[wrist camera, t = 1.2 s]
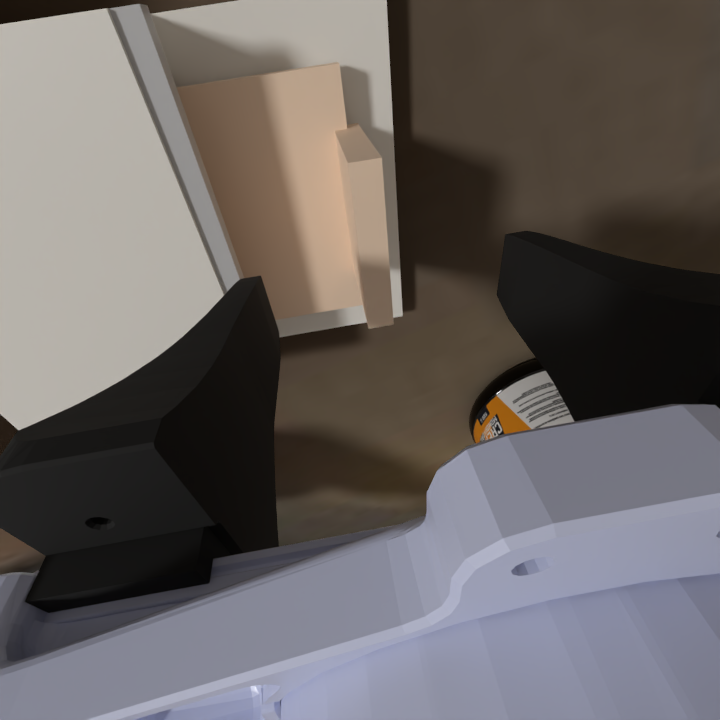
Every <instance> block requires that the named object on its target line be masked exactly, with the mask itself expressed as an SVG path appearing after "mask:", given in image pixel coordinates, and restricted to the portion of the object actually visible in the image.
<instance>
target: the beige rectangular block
mask: <svg viewBox="0 0 720 720" xmlns="http://www.w3.org/2000/svg"><path fill="white" fill-rule="evenodd" d="M176 88H177V90H178V93H179V96H180V99H181V102H182V104H183V107H184V110H185V113H186V116H187V119H188V121H189V124H190V127H191V130H192V133H193V135H194V138H195V141H196V144H197V147H198V149H199V152H200V155H201V158H202V161H203V164H204V166H205V169H206V172H207V175H208V178H209V180H210V183H211V186H212V189H213V192H214V194H215V197H216V200H217V203H218V206H219V208H220V211H221V214H222V217H223V220H224V223H225V225H226V228H227V231H228V234H229V237H230V239H231V242H232V245H233V248H234V251H235V253H236V256H237V259H238V262H239V265H240V268H241V270H242V273H243V276H244V278H249V277H255V276H261V277H262V280H263V283H264V286H265V289H266V293H267V296H268V299H269V302H270V305H271V308H272V311H273V314H274V317H275V320H278V319H284V318H290V317H296V316H302V315H307V314H313V313H319V312H325V311H331V310H336V309H342V308H348V307H354V306H360V305H363V308H364V312H365V316H366V320H367V324H368V328H369V329H371V328H376V327H382V326H388V325H394V321H393V307H392V293H391V279H390V264H389V250H388V236H387V222H386V208H385V194H384V180H383V166H382V157H381V156H380V154H379V153H378V151H377V150H376V148H375V147H374V146H373V144H372V143H371V141H370V140H369V138H368V137H367V136H366V134H365V133H364V131H363V130H362V129H361V127H360V126H359V124H358V123H354V124H348V125H347V122H346V113H345V105H344V97H343V88H342V80H341V72H340V63H338V62H334V63H328V64H321V65H315V66H309V67H302V68H296V69H290V70H283V71H277V72H270V73H264V74H258V75H251V76H245V77H239V78H232V79H226V80H220V81H213V82H207V83H200V84H194V85H188V86H181V87H176Z"/></svg>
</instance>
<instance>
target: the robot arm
mask: <svg viewBox="0 0 720 720" xmlns="http://www.w3.org/2000/svg"><path fill="white" fill-rule="evenodd" d="M497 296H498V298H499V300H500V303H501V305H502V307H503V309H504V311H505V313H506V315H507V317H508V319H509V320H510V322H511V323H512V325H513V326H514V328H515V329H516V330H517V332H518V333H519V335H520V336H521V338H522V339H523V340H524V342H525V343H526V344H527V346H528V347H529V349H530V350H531V351H532V353H533V354H534V355H535V357H536V358H537V360H538V361H539V362H540V364H541V365H542V366H543V368H544V369H545V371H546V372H547V374H548V375H549V377H550V378H551V380H552V381H553V383H554V385H555V386H556V388H557V390H558V392H559V394H560V395H561V397H562V399H563V401H564V403H565V405H566V406H567V408H568V410H569V412H570V414H571V416H572V418H573V420H574V422H569V423H564V424H558V425H553V426H547V427H542V428H536V429H530V430H525V431H519V432H514V433H508V434H503V435H500V436H497V437H494V438H491V439H488V440H485V441H482V442H479V443H476V444H473V445H470V446H467V447H466V448H464V449H463V450H462V451H460V452H459V453H457V454H456V455H455V456H453V457H452V458H451V459H449V460H448V461H447V462H445V463H444V464H442V465H441V466H440V468H439V469H438V470H437V472H436V474H435V476H434V478H433V480H432V483H431V485H430V487H429V489H428V491H427V513H426V515H424V516H421V517H418V518H416V519H413V520H410V521H407V522H405V523H402V524H399V525H394V526H389V527H384V528H378V529H373V530H367V531H362V532H356V533H351V534H345V535H340V536H334V537H329V538H324V539H318V540H313V541H307V542H302V543H296V544H291V545H285V546H280V547H279V544H278V530H277V512H276V493H275V465H274V420H275V409H276V400H277V390H278V380H279V370H280V338H279V330H278V327H277V324H276V321H275V317H274V314H273V311H272V308H271V305H270V302H269V299H268V296H267V293H266V289H265V286H264V283H263V280H262V277H261V276H255V277H249V278H243V279H239V280H238V281H237V282H236V283H235V284H234V285H233V286H232V287H231V288H230V289H229V290H228V291H227V293H226V294H225V295H224V296H223V297H222V298H221V299H220V300H219V301H218V302H217V303H216V304H215V306H214V307H213V308H212V309H211V310H210V311H209V312H208V313H207V314H206V315H205V316H204V317H203V318H202V319H201V320H200V321H199V322H198V323H197V324H196V325H195V326H194V327H192V328H191V329H190V330H189V331H188V332H187V333H186V334H185V335H184V336H183V337H182V338H180V339H179V340H178V341H177V342H176V343H174V344H173V345H172V346H171V347H169V348H168V349H167V350H165V351H164V352H163V353H162V354H160V355H159V356H158V357H156V358H155V359H153V360H152V361H150V362H149V363H147V364H146V365H144V366H143V367H141V368H140V369H138V370H137V371H135V372H133V373H132V374H130V375H129V376H127V377H126V378H124V379H123V380H121V381H119V382H117V383H116V384H114V385H112V386H110V387H109V388H107V389H105V390H103V391H101V392H100V393H98V394H96V395H94V396H92V397H90V398H88V399H86V400H84V401H82V402H80V403H78V404H76V405H74V406H72V407H70V408H68V409H66V410H64V411H61V412H59V413H57V414H55V415H52V416H50V417H48V418H46V419H44V420H41V421H39V422H37V423H35V424H33V425H30V426H28V427H26V428H23V429H21V430H18V431H17V432H16V434H15V435H14V437H13V438H12V440H11V441H10V443H9V444H8V446H7V447H6V449H5V450H4V451H3V453H2V454H1V456H0V528H1V529H3V530H5V531H6V532H8V533H10V534H11V535H13V536H14V537H16V538H18V539H19V540H21V541H23V542H24V543H26V544H27V545H29V546H31V547H32V548H34V549H36V550H37V551H39V552H41V553H42V554H44V555H45V556H46V557H45V559H44V561H43V564H42V566H41V568H40V570H39V571H36V572H34V573H25V572H18V573H8V574H3V575H0V720H720V274H713V273H704V272H696V271H689V270H682V269H676V268H671V267H665V266H660V265H654V264H649V263H644V262H640V261H635V260H631V259H627V258H623V257H620V256H616V255H612V254H608V253H604V252H601V251H597V250H594V249H591V248H587V247H584V246H581V245H578V244H574V243H571V242H568V241H565V240H561V239H558V238H555V237H551V236H548V235H544V234H540V233H536V232H530V231H522V232H516V233H511V234H505V241H504V248H503V255H502V262H501V269H500V276H499V283H498V290H497Z"/></svg>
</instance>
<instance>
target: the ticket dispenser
mask: <svg viewBox="0 0 720 720" xmlns="http://www.w3.org/2000/svg"><path fill="white" fill-rule="evenodd" d="M334 62H338V63H340V72H341V80H342V88H343V97H344V105H345V113H346V122H347V125H348V124H354V123H358V124H359V126H360V127H361V129H362V130H363V131H364V133H365V134H366V136H367V137H368V138H369V140H370V141H371V143H372V144H373V146H374V147H375V148H376V150H377V151H378V153H379V154H380V156H381V157H382V166H383V180H384V194H385V208H386V222H387V236H388V250H389V264H390V279H391V293H392V307H393V318H394V317H400V316H403V312H402V293H401V273H400V253H399V233H398V214H397V194H396V174H395V155H394V135H393V115H392V96H391V76H390V56H389V36H388V17H387V0H238V1H232V2H225V3H219V4H212V5H205V6H199V7H192V8H186V9H179V10H173V11H166V12H160V13H153V14H150V12H149V9H148V6H147V5H143V4H135V5H128V6H122V7H115V8H105V9H98V10H92V11H85V12H78V13H72V14H65V15H59V16H52V17H45V18H39V19H32V20H26V21H19V22H12V23H6V24H0V414H1V415H2V416H3V417H4V418H5V419H6V420H7V421H9V422H10V423H11V424H12V425H13V426H14V427H15V428H17V429H18V430H21V429H23V428H26V427H28V426H30V425H33V424H35V423H37V422H39V421H41V420H44V419H46V418H48V417H50V416H52V415H55V414H57V413H59V412H61V411H64V410H66V409H68V408H70V407H72V406H74V405H76V404H78V403H80V402H82V401H84V400H86V399H88V398H90V397H92V396H94V395H96V394H98V393H100V392H101V391H103V390H105V389H107V388H109V387H110V386H112V385H114V384H116V383H117V382H119V381H121V380H123V379H124V378H126V377H127V376H129V375H130V374H132V373H133V372H135V371H137V370H138V369H140V368H141V367H143V366H144V365H146V364H147V363H149V362H150V361H152V360H153V359H155V358H156V357H158V356H159V355H160V354H162V353H163V352H164V351H165V350H167V349H168V348H169V347H171V346H172V345H173V344H174V343H176V342H177V341H178V340H179V339H180V338H182V337H183V336H184V335H185V334H186V333H187V332H188V331H189V330H190V329H191V328H192V327H194V326H195V325H196V324H197V323H198V322H199V321H200V320H201V319H202V318H203V317H204V316H205V315H206V314H207V313H208V312H209V311H210V310H211V309H212V308H213V307H214V306H215V304H216V303H217V302H218V301H219V300H220V299H221V298H222V297H223V296H224V295H225V294H226V293H227V291H228V290H229V289H230V288H231V287H232V286H233V285H234V284H235V283H236V282H237V281H238V280H239V279H243V278H244V276H243V273H242V270H241V268H240V265H239V262H238V259H237V256H236V253H235V251H234V248H233V245H232V242H231V239H230V237H229V234H228V231H227V228H226V225H225V223H224V220H223V217H222V214H221V211H220V208H219V206H218V203H217V200H216V197H215V194H214V192H213V189H212V186H211V183H210V180H209V178H208V175H207V172H206V169H205V166H204V164H203V161H202V158H201V155H200V152H199V149H198V147H197V144H196V141H195V138H194V135H193V133H192V130H191V127H190V124H189V121H188V119H187V116H186V113H185V110H184V107H183V104H182V102H181V99H180V96H179V93H178V90H177V88H176V87H181V86H188V85H194V84H200V83H207V82H213V81H220V80H226V79H232V78H239V77H245V76H251V75H258V74H264V73H270V72H277V71H283V70H290V69H296V68H302V67H309V66H315V65H321V64H328V63H334ZM275 321H276V324H277V327H278V330H279V337H285V336H290V335H296V334H302V333H308V332H313V331H319V330H325V329H331V328H337V327H342V326H348V325H354V324H360V323H365V322H367V320H366V316H365V312H364V308H363V305H360V306H354V307H348V308H342V309H336V310H331V311H325V312H319V313H313V314H307V315H302V316H296V317H290V318H284V319H278V320H275Z"/></svg>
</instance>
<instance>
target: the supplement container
mask: <svg viewBox="0 0 720 720" xmlns="http://www.w3.org/2000/svg"><path fill="white" fill-rule="evenodd" d="M569 422H574V420H573V418H572V416H571V414H570V412H569V410H568V408H567V406H566V405H565V403H564V401H563V399H562V397H561V395H560V394H559V392H558V390H557V388H556V386H555V385H554V383H553V381H552V380H551V378H550V377H549V375H548V374H547V372H546V371H545V369H544V368H543V366H542V365H541V364H540V362H539V361H538V360H537V359H536V360H532V361H529V362H526V363H523V364H521V365H519V366H516V367H514V368H512V369H510V370H509V371H507V372H505V373H503V374H502V375H501V376H499V377H498V378H496V379H495V380H494V381H492V382H491V383H490V384H489V385H488V386H487V387H486V388H485V389H484V390H483V391H482V392H481V394H480V395H479V396H478V398H477V399H476V401H475V403H474V405H473V407H472V409H471V412H470V417H469V427H470V432H471V435H472V438H473V440H474V442H475V444H476V443H479V442H482V441H485V440H488V439H491V438H494V437H497V436H500V435H503V434H508V433H514V432H519V431H525V430H530V429H536V428H542V427H547V426H553V425H558V424H564V423H569Z"/></svg>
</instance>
